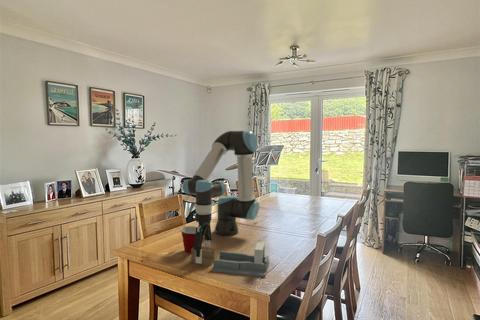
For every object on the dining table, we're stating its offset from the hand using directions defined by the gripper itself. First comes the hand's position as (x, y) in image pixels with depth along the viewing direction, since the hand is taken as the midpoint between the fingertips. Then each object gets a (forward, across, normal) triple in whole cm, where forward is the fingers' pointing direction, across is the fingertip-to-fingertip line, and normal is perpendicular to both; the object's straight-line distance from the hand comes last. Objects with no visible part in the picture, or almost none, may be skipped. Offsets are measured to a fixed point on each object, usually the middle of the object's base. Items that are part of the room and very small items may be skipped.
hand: (202, 258), depth 138 cm
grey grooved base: (+2, 0, +19) cm, 19 cm away
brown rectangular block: (+2, 0, 0) cm, 2 cm away
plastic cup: (+2, -12, -11) cm, 16 cm away
